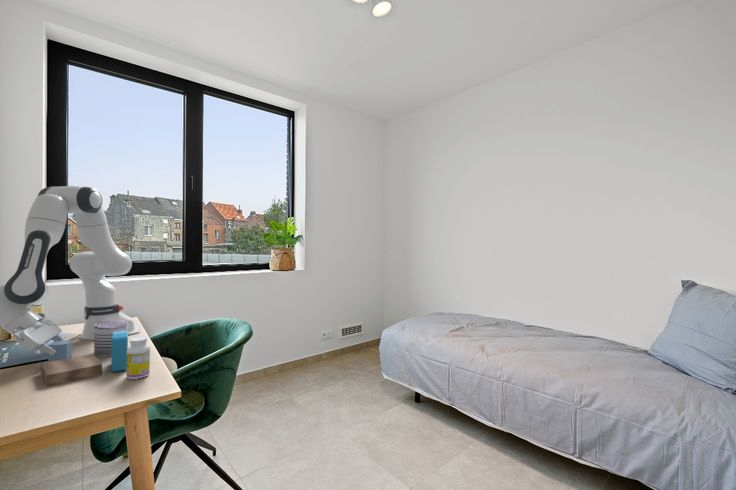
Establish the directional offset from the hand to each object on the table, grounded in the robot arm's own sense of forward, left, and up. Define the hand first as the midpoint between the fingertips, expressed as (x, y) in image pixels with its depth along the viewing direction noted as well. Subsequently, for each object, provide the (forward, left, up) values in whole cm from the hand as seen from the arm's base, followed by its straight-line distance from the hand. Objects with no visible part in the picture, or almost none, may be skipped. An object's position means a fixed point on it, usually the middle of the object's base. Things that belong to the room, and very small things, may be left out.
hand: (59, 349), depth 129 cm
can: (-16, -2, -5) cm, 17 cm away
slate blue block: (0, 0, -5) cm, 5 cm away
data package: (-14, +19, -5) cm, 24 cm away
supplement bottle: (-16, +33, -5) cm, 37 cm away
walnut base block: (-1, +16, -5) cm, 17 cm away
